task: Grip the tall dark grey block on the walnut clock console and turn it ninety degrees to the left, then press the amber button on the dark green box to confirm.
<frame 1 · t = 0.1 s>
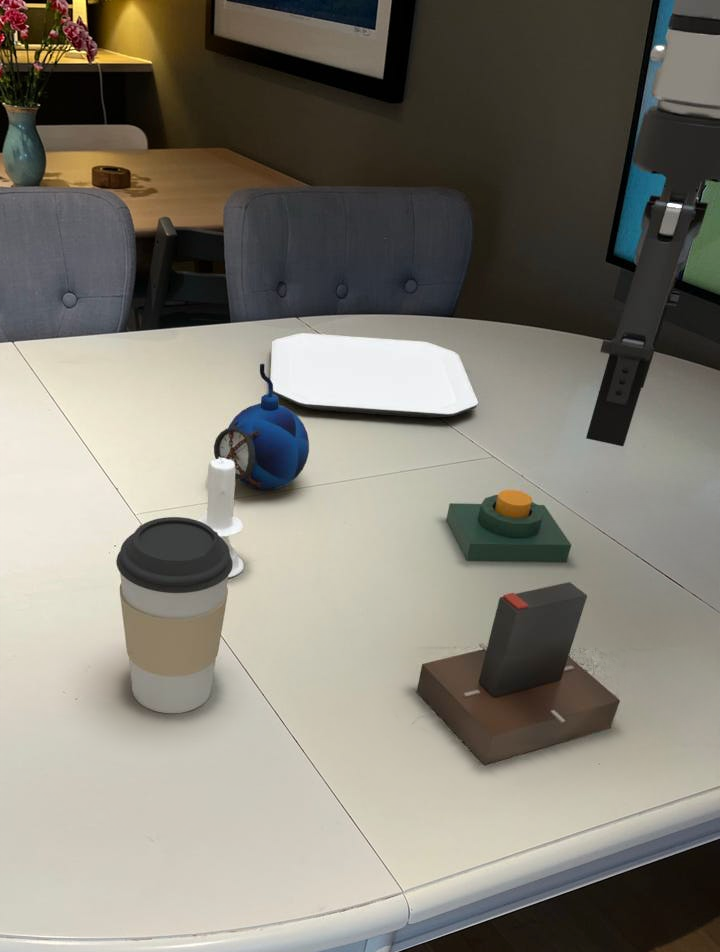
hand: (616, 410, 78), 24 cm above the table, tool pointing down, fingers open, 13 cm apart
plate: (367, 384, 145), on the table
dark grey block: (531, 638, 80), point 7 cm above the table, hinge at 0.0°
confirm button: (513, 504, 106), point 4 cm above the table, slide at 0.1 cm
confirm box: (504, 540, 109), on the table
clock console: (512, 709, 84), on the table
coffee cup: (171, 689, 84), on the table
bomb: (260, 488, 116), on the table
candle: (217, 567, 101), on the table
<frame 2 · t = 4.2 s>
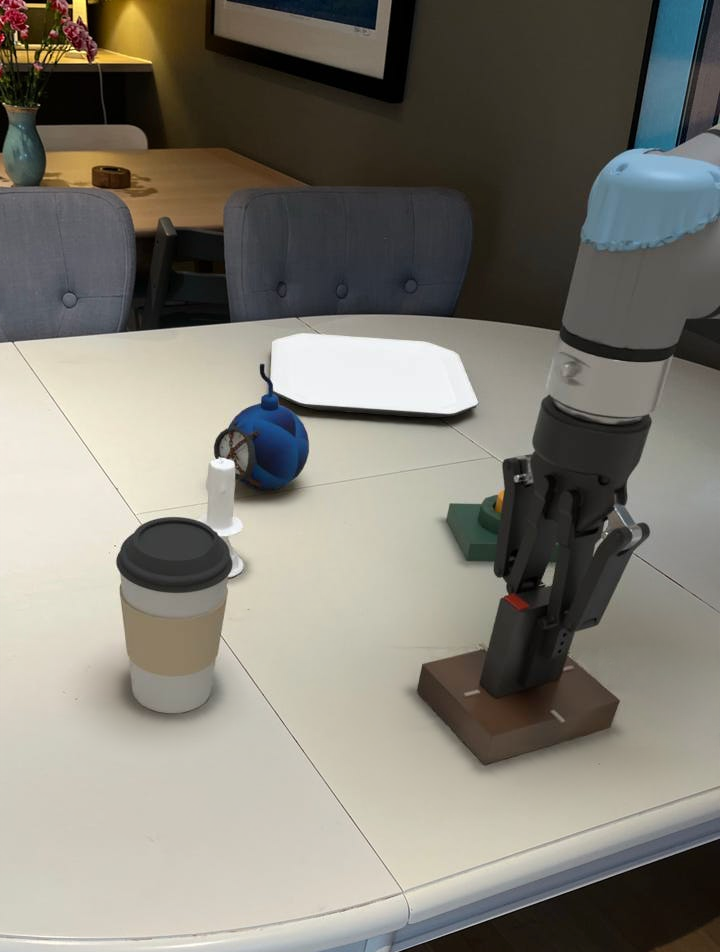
hand: (522, 672, 82), 4 cm above the table, tool pointing down, fingers closed on dark grey block, 2 cm apart
dark grey block: (531, 638, 80), point 7 cm above the table, hinge at 2.6°, touching gripper
everything else where it was.
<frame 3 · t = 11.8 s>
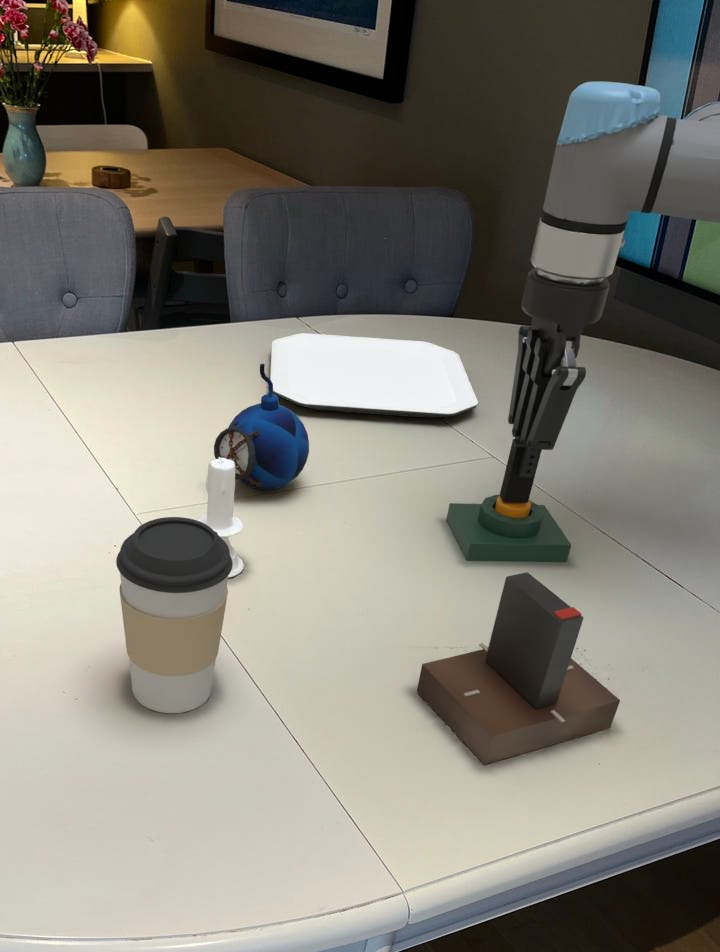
hand: (513, 498, 106), 5 cm above the table, tool pointing down, fingers closed
dark grey block: (531, 638, 80), point 7 cm above the table, hinge at 89.9°
confirm button: (512, 508, 106), point 4 cm above the table, slide at -0.4 cm, touching gripper
everything else where it was.
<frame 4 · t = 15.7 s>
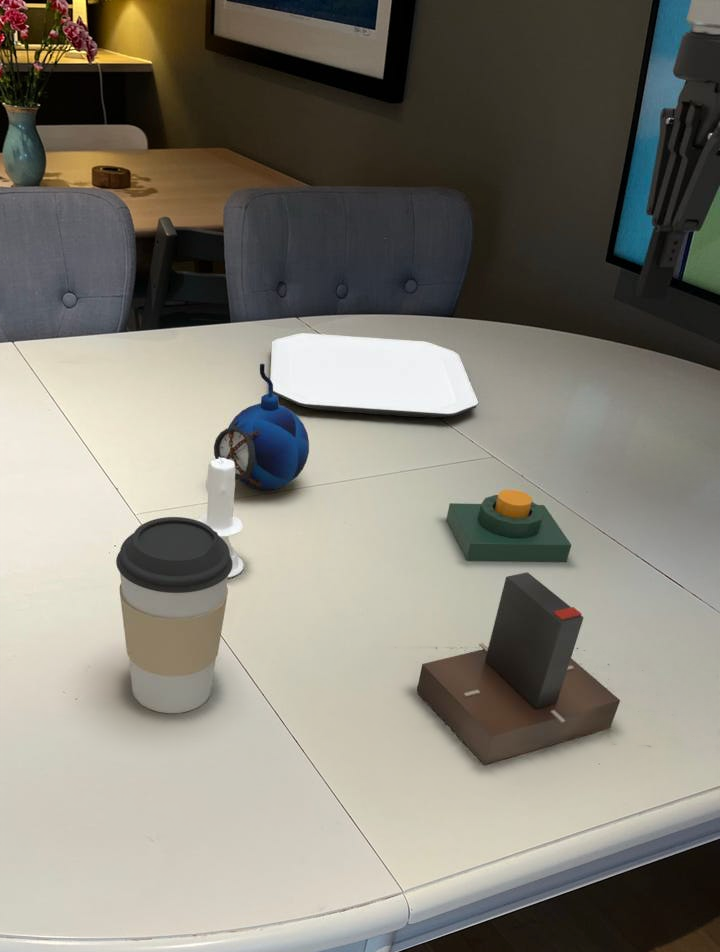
hand: (650, 295, 103), 24 cm above the table, tool pointing down, fingers closed
confirm button: (513, 504, 106), point 4 cm above the table, slide at 0.1 cm
everything else where it was.
at the end: dark grey block at +90° (first picture: +0°); confirm button pushed in 1.0 cm at the most during the clip, back to where it started at the end; confirm button slide at 0.1 cm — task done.
